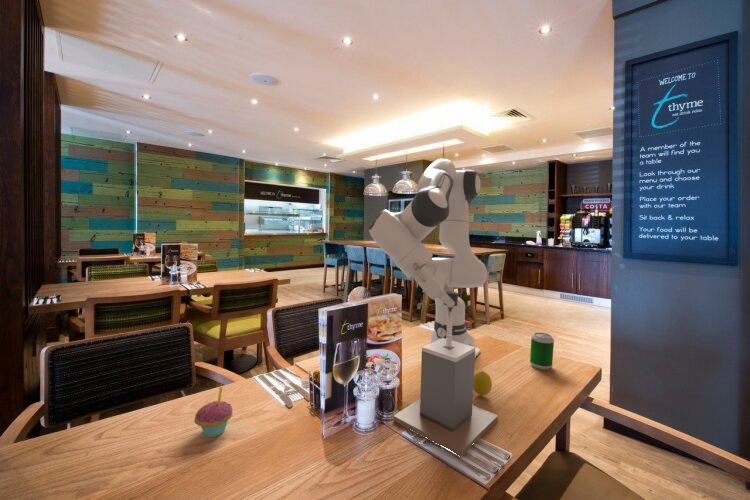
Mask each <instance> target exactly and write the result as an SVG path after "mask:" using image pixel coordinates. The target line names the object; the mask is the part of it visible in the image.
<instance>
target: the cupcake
mask: <svg viewBox="0 0 750 500" xmlns="http://www.w3.org/2000/svg"><path fill="white" fill-rule="evenodd" d="M218 389H219V390H218V396H217V400H214V401H211V402H209V403H207V404H205V405H202V407H200V408H199V409H198V410H197V412H196V413H195V415H194V416H195V418H194V423H195V425H197V426H199V427H200V428H201V429H202V431H203V435H204V436H205V437H207V436H208V438H214V437H213V436H215V437H217V435H218V436H220V435H222V434H223V433H224V432H225V431H224V430H226V428H227V424H228V421H229V420H231V418H232V416H233V406H232V405H231V404H230V403H227V402H226V401H222V395H223V394H222V393H223V392H222V391H223V383H221V385H220V386H219V388H218ZM221 433H222V434H221Z"/></svg>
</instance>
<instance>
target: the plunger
mask: <svg viewBox="0 0 750 500" xmlns="http://www.w3.org/2000/svg"><path fill="white" fill-rule="evenodd" d="M446 294H447V295H448V296H449V297H451V298H452V299H453V300H454V301H455V305H454V306H457V305H458V297H459V292H456V291H452V292H446ZM443 304H444V305H446V304H445V303H444V302H443ZM446 306H447V305H446ZM452 322H453V306H452V307H451V308H449V307H448V309H447V334H446V349H450V350H451V346H452Z"/></svg>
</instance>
